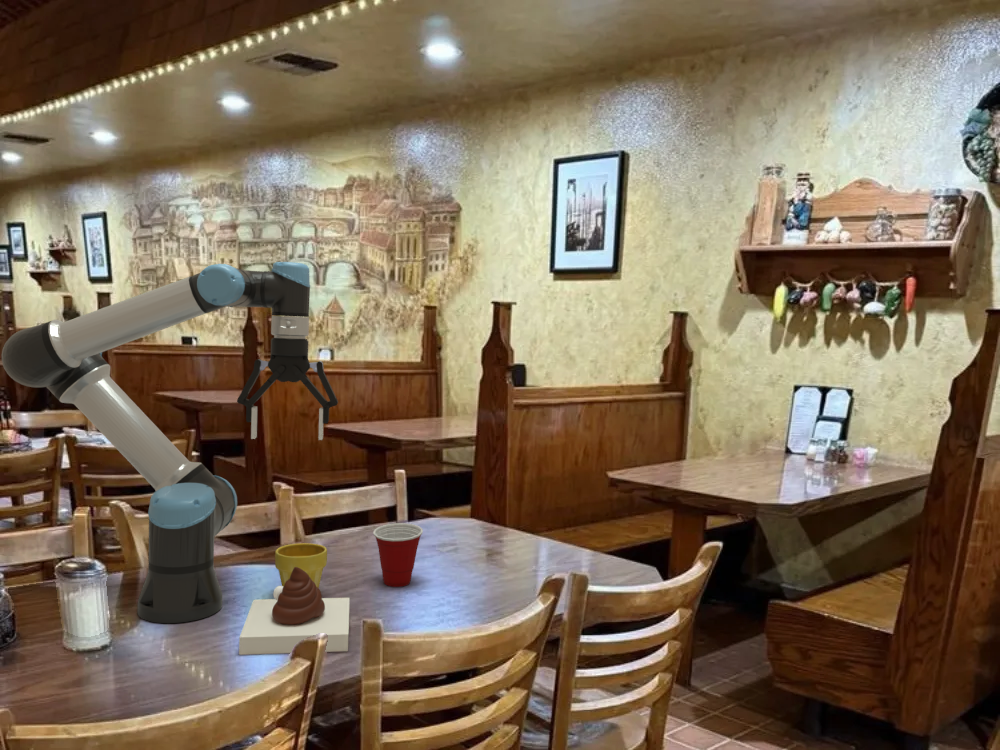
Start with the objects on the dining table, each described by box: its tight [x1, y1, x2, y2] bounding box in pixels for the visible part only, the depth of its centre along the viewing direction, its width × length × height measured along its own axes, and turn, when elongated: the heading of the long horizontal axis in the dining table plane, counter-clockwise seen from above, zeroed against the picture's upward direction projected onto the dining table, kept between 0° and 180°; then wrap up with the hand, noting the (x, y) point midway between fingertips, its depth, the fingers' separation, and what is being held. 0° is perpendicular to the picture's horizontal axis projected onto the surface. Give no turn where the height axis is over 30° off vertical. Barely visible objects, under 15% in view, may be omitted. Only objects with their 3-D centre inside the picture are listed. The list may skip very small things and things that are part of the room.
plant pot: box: [274, 542, 328, 589], centre depth 158 cm, size 10×10×10 cm
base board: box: [238, 597, 351, 656], centre depth 140 cm, size 18×18×3 cm
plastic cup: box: [372, 522, 424, 588], centre depth 169 cm, size 11×11×12 cm
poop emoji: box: [272, 567, 325, 625], centre depth 140 cm, size 10×8×9 cm
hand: (287, 438), depth 162 cm, fingers open, 13 cm apart
